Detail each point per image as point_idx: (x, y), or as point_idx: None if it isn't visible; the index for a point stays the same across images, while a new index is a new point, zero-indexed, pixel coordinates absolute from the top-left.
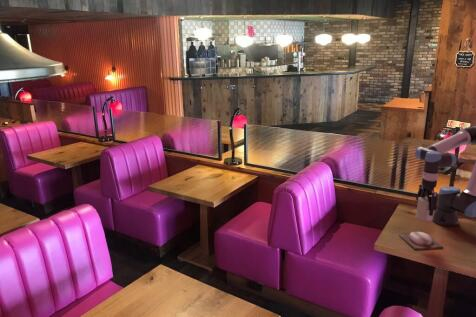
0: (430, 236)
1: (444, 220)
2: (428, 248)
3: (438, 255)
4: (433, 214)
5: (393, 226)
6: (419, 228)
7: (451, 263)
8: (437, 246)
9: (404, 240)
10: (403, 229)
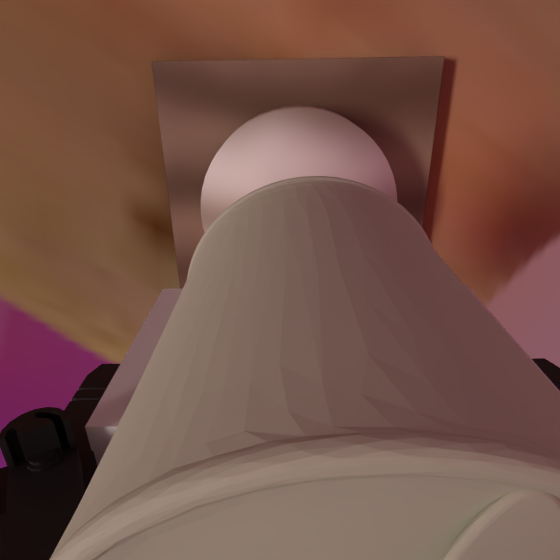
0: (309, 119)
1: None
2: (422, 202)
3: (526, 175)
4: (442, 259)
5: (16, 275)
6: (24, 51)
7: None
8: (426, 112)
9: None
10: (66, 222)
